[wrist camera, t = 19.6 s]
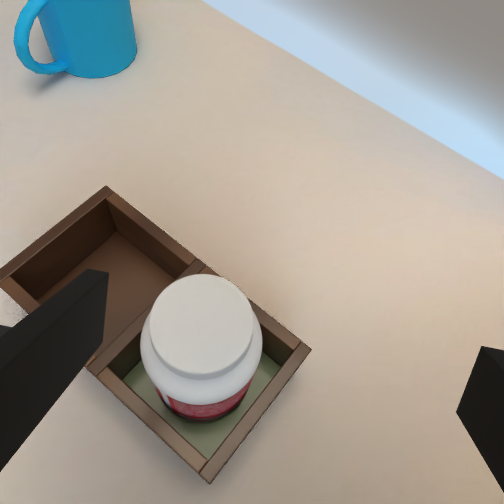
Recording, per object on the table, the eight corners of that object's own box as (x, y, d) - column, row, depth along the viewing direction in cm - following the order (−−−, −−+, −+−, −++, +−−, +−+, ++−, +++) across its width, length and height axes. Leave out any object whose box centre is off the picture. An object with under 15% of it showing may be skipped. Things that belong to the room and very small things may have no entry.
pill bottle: (268, 369, 30) (298, 315, 20) (206, 445, 27) (207, 425, 18) (199, 311, 31) (197, 234, 22) (135, 379, 29) (100, 326, 19)
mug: (91, 11, 46) (70, -76, 39) (154, 44, 45) (144, -39, 38) (2, 75, 41) (-41, -12, 34) (70, 115, 40) (40, 33, 32)
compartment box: (296, 369, 31) (312, 349, 26) (209, 484, 27) (209, 484, 23) (119, 224, 35) (105, 184, 30) (21, 307, 31) (-11, 276, 27)
